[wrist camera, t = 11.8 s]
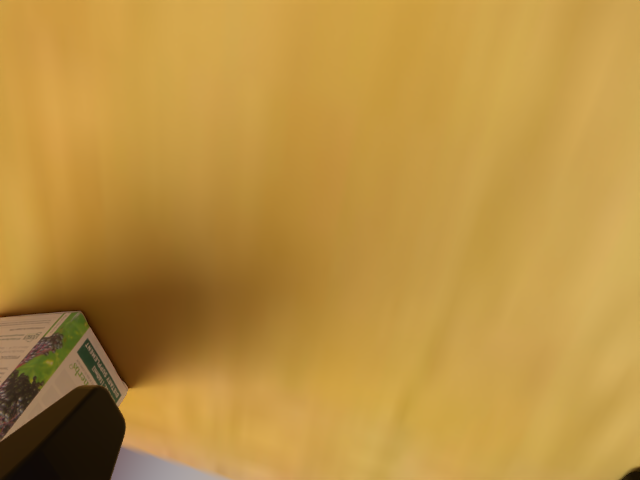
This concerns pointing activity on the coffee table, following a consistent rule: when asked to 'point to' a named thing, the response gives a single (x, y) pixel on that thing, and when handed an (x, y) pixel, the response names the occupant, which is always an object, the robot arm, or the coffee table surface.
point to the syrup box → (48, 364)
